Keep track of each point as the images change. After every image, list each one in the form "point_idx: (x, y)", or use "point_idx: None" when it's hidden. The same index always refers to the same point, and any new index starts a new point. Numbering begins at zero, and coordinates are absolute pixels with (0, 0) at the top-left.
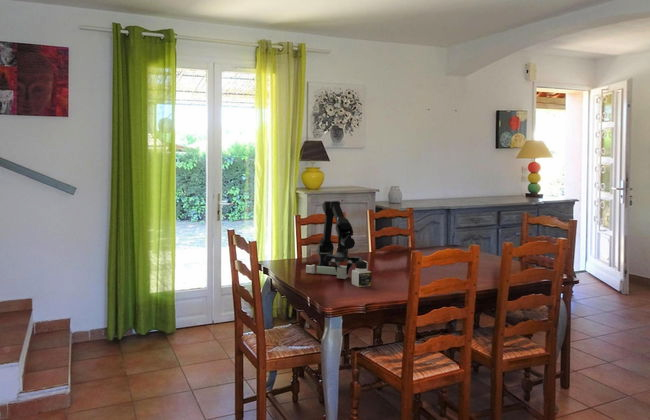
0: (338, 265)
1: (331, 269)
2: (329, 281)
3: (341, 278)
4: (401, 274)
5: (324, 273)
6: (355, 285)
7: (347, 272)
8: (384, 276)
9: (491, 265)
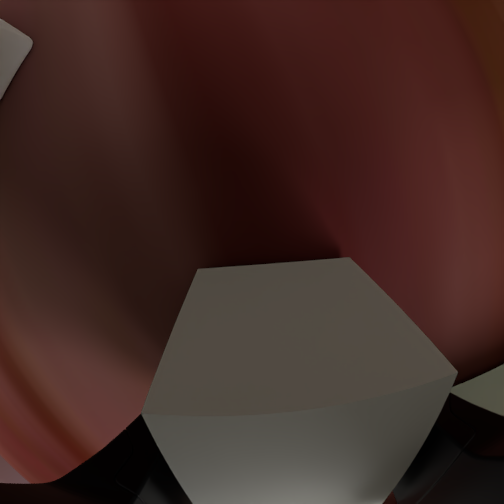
0: (409, 494)
1: None
2: (379, 34)
3: (267, 264)
4: (17, 468)
5: (484, 375)
6: (1, 19)
7: None
8: (20, 442)
9: None
